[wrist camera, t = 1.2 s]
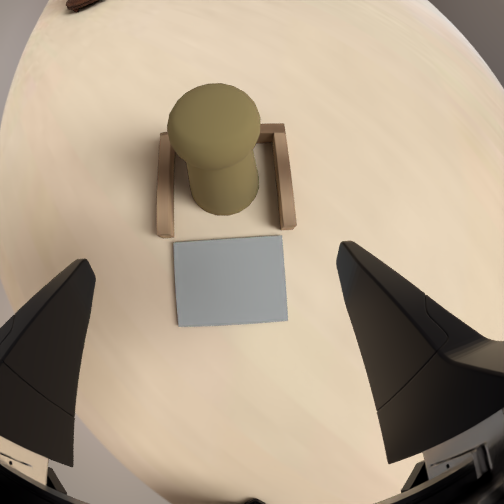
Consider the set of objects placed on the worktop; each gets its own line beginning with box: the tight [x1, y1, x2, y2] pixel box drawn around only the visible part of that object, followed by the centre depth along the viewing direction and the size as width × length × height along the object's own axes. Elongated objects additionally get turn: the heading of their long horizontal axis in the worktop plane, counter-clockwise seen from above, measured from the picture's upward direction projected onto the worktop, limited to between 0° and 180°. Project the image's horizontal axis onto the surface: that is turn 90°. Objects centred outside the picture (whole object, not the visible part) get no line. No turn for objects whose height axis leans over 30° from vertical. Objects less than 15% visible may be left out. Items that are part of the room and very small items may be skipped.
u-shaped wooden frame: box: [157, 124, 297, 238], centre depth 22 cm, size 9×11×2 cm
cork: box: [167, 83, 260, 215], centre depth 18 cm, size 6×6×11 cm
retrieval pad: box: [174, 235, 288, 327], centre depth 22 cm, size 7×9×1 cm
